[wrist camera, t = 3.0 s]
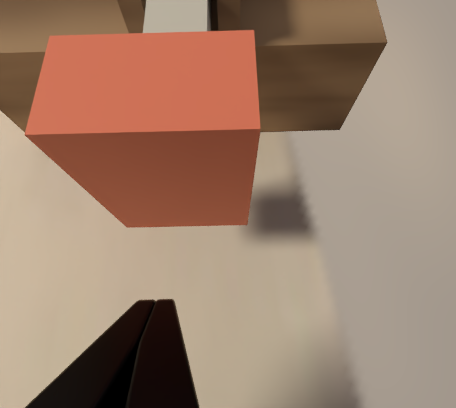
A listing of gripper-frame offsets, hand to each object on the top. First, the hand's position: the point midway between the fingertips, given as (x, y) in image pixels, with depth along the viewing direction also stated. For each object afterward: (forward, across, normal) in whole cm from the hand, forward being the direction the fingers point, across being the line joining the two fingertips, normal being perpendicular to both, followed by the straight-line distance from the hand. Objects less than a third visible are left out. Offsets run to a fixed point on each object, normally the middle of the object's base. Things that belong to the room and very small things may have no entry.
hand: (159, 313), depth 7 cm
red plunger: (+9, 0, -5) cm, 10 cm away
